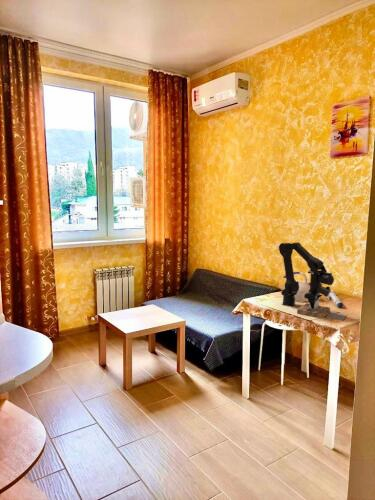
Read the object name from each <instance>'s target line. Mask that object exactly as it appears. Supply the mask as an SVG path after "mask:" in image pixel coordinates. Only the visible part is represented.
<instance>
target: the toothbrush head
mask: <svg viewBox="0 0 375 500" xmlns="http://www.w3.org/2000/svg"><path fill="white" fill-rule="evenodd" d="M330 290H331V292H330V294H329V296H327V297H326V299H328V300H331V301H333V303H334V305H335V306H336V307H337V309H342V308H343V307H344V304H343V301H342V300H341V299H340V298H338V296H337V295H336V294H335V291H334V290H333V289H330Z"/></svg>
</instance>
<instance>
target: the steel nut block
mask: <svg viewBox="0 0 375 500" xmlns="http://www.w3.org/2000/svg"><path fill="white" fill-rule="evenodd" d="M319 303H320V298H319V299H317V300H316V301H315V305H314V309H312V308H311V306H310V303H309V302H308V304H309V311H311V312H315V311H317V310H318V309H319V306H320V304H319Z"/></svg>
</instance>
